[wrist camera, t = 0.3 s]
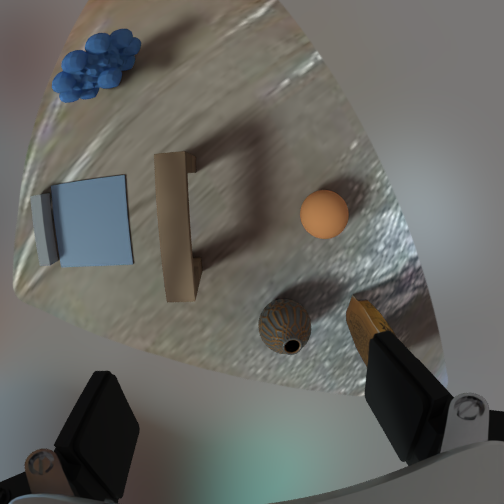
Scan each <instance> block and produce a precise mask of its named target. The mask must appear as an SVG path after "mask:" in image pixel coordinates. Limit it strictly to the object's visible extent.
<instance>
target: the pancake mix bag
mask: <svg viewBox="0 0 504 504" xmlns="http://www.w3.org/2000/svg"><path fill="white" fill-rule="evenodd" d="M346 322H347V324H348V327H349V330H350V333H351V335H352V338H353V341H354V343H355V346H356V348H357V350H358V352H359V354H360V356H361V357H362V359H363V361H364V363H365V364H366V366H367V364H368V352H369V341H370V339H372V338H373V336H374V334H376V333H380V332H383V331H387V330H389V331H391V332H392V333H393V334H394V332H393V330H392V329H391V327H390V326H389V325H388V323H387V322H386V320H385V319H384V318H383V316H382V315H381V313H380V312H379V311H378V310H377V309H376V308H375V307H374V306H373V305H372V304H371V303H370V302H369V301H368V300H361V301H357V299H356V298H355V297H354V296H353V295H352V297H351V300H350V303H349V306H348V308H347V311H346ZM394 335H395V334H394ZM395 336H396V335H395Z"/></svg>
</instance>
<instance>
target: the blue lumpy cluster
mask: <svg viewBox="0 0 504 504" xmlns="http://www.w3.org/2000/svg"><path fill="white" fill-rule="evenodd" d="M140 47H141V41H140V40H139V39H138V38H136V37H133V35H132V32H131V31H130V30H128V29H119V30H116V31H114V32H112V33H111V35H108V34H106V33H98V34H94V35H92V36H91V37H90V38H89V39H88V40H87V42H86V45H85V50H86V52H85V51H83V50H75V51H72V52H70V53H68V54H67V55H66V56H65V58H64V59H63V61H62V66H61V67H62V69H63V71H62V72H60V73H58V74H57V75H56V76H55V78H54V80H53V82H52V89H53V90H54V91H55V92H57V93H60V94H59V98H60V100H61V101H62V102H65V103H68V102H74V101H76V100H78V99H79V98H81V99H91V98H94V97H96V95H97V93H98V91H99V87H101V88H103V89H109V88H113V87H117V86H118V85H119V83H120V81H121V78H122V72H121V71H125V70H129V69H132V67H133V65H134V63H135V56H134V55H136V54H137V53H138V52H139V50H140Z"/></svg>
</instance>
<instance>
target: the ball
mask: <svg viewBox="0 0 504 504" xmlns="http://www.w3.org/2000/svg"><path fill="white" fill-rule="evenodd" d="M300 217H301V222H302V224H303V226H304V228H305V229H306V230H307V232H309V233H310V234H311V235H313V236H315V237H317V238H321V239H329V238H333V237H335V236H337V235H339V234H340V233H341V232H342V231H343V230H344V228H345V227H346V225H347V222H348V218H349V212H348V207H347V205H346V203H345V201H344V200H343V198H342V197H341V196H340V195H338V194H337V193H335V192H332V191H329V190H319V191H316V192H314V193H312V194H310V195H309V196H308V197H307V198H306V199H305V200H304V202H303V204H302V206H301V211H300Z"/></svg>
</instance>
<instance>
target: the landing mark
mask: <svg viewBox="0 0 504 504" xmlns="http://www.w3.org/2000/svg"><path fill="white" fill-rule="evenodd" d="M51 192H52V204H53V214H54V222H55V230H56V238H57V244H58V251H59V257H60V262H61V267H80V266H105V265H129V264H133V258H132V250H131V242H130V233H129V223H128V212H127V200H126V185H125V175H120V176H112V177H105V178H97V179H90V180H83V181H77V182H71V183H64V184H59V185H53V186H51Z"/></svg>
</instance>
